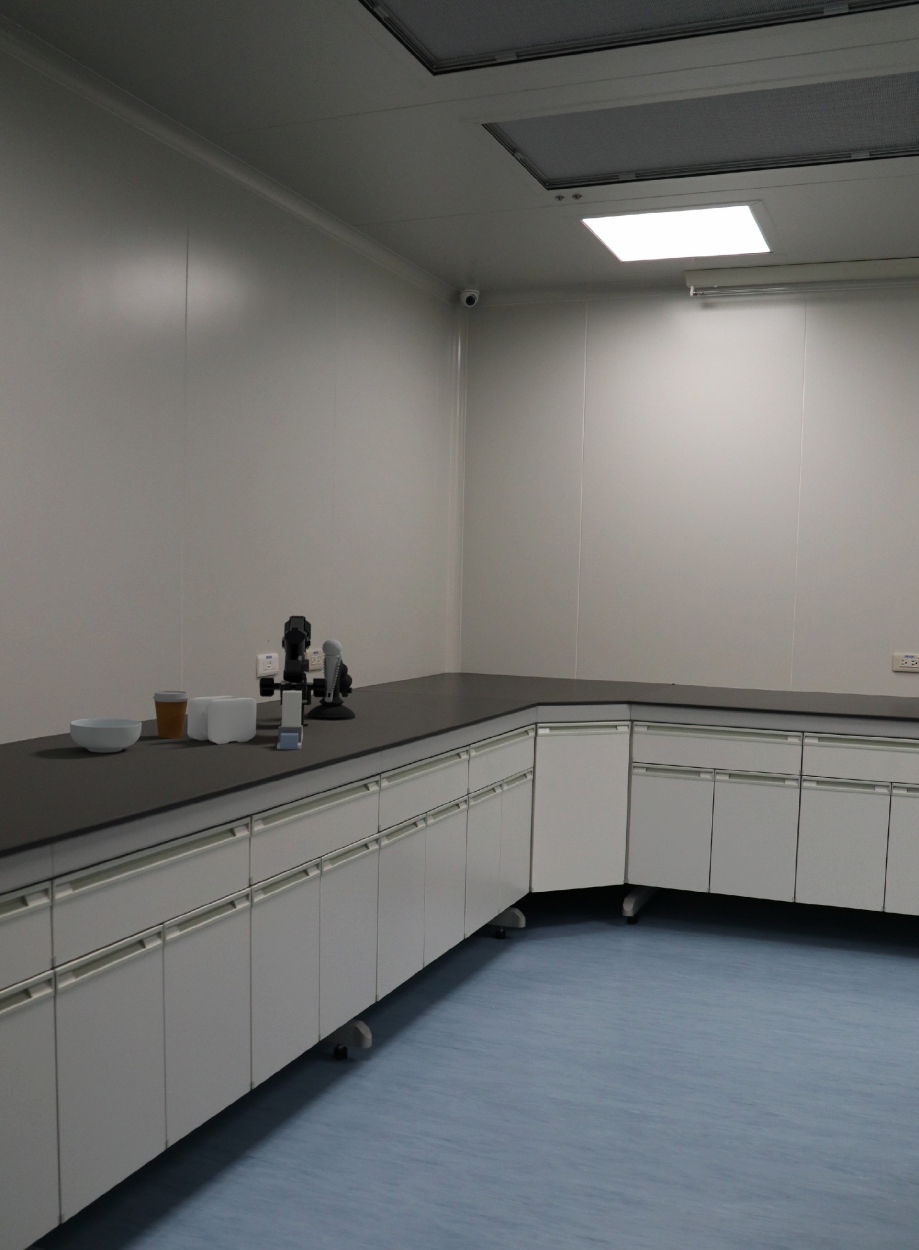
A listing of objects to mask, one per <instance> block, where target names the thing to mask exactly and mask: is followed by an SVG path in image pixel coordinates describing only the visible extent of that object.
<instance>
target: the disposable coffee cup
mask: <svg viewBox="0 0 919 1250" xmlns="http://www.w3.org/2000/svg"><path fill="white" fill-rule="evenodd" d="M152 699H153V702H154V706H155V716H156V724H157V733H158V738H160V739H161V738H162V739H178V738H182V737H183V735H184V729H185V728H184V727H185V722H186V721H185V720H186V714H187V709H188V703H189V699H190V696H189V693H188V691H183V690H182V691H181V690H162V691H160V690H159V691H155V692H154V696H153V697H152Z"/></svg>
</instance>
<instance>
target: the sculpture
mask: <svg viewBox="0 0 919 1250" xmlns="http://www.w3.org/2000/svg"><path fill="white" fill-rule="evenodd" d="M342 648H343V647H342V644H341V641H339V640H338V639H335V638H329V639H327V640H325V641H324V642H323V644H322V647H321V649H322V652H323V654H324V655H323V657H324V658H323V664H322V665H323V678H325V679H326V680H327V696H326V697H325V698H321V699H320V700H319V701H318V703H319V705H316V706H315V707H313V708H311V709H310V710H309V711H308V712H307V713H306V717H307V718H308V719H312V720H315V721H316V720H317V721H319V720H320V721H348V720H353V719H355V718H356V714H355V712H354V711H353V710H352V709H351V708H349V707H347V706H346V705H343V704H344V703H345V701H344V700H343V698H347V697H348V696H349V694H352V693H353V687H352V683H353V678H352V675H350V674H349V673H348V672H349V669H348V666H347V665H346V664H345V663H344V662H343V655H342V653H341V652H342V650H343V649H342ZM340 694H341V697H340Z"/></svg>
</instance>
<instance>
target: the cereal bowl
mask: <svg viewBox="0 0 919 1250" xmlns="http://www.w3.org/2000/svg"><path fill="white" fill-rule="evenodd" d="M69 724H70V725H69V732H70V733H69V734H70V736H71V740H73V742H74V743H76V744H77V745H79V746H81V747H82V748H86V749H87V750H88V751H89V752H91V753H100V754H101V753H104V754H105V753H106V754H107V753H116V752H121V751H122V750H123V749H125V748H127V747H130V746H132V745H134V744H135V743H136V742H137V741H138V740H139V738H140V736H141V733H142V724H143V723H142V722H141V721H140V720H135V719H130V718H129V719H127V718H114V717H113V718H111V717H98V718H97V717H94V718H82V719H76V720H75V719H74V720H73V721H71V722H70V723H69Z"/></svg>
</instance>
